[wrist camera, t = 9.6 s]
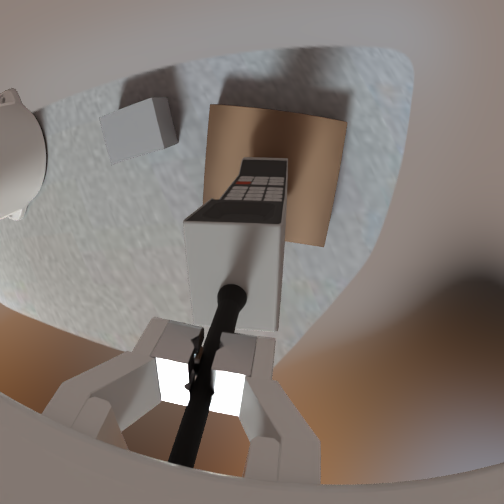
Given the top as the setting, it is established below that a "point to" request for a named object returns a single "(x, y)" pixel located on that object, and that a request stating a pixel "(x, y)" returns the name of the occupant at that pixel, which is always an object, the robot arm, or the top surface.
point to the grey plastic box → (138, 129)
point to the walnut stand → (279, 146)
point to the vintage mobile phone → (233, 275)
